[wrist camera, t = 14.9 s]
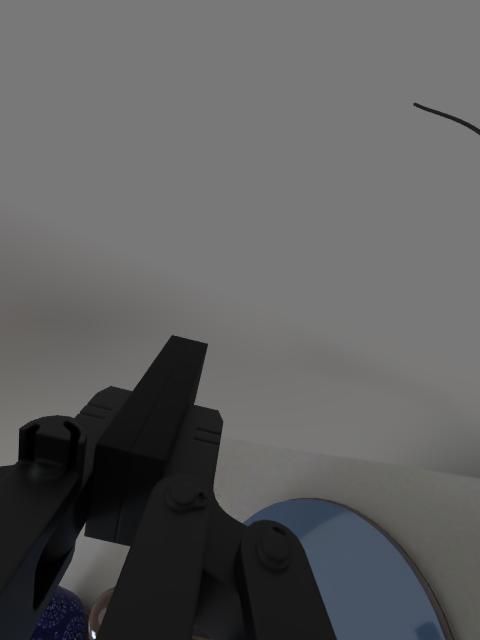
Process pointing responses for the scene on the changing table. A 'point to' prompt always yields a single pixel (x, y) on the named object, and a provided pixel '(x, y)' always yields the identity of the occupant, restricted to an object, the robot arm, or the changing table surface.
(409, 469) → the changing table surface
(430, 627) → the blue disc with post
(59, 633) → the planter
